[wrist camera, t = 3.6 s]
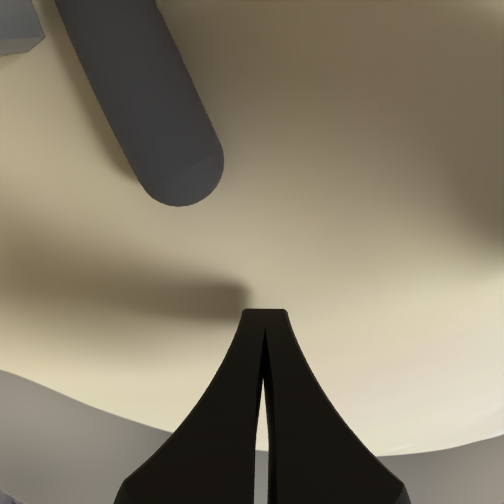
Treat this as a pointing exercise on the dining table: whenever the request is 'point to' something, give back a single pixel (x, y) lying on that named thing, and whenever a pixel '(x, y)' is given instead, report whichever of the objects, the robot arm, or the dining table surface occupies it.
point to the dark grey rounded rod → (146, 96)
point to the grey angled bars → (18, 27)
